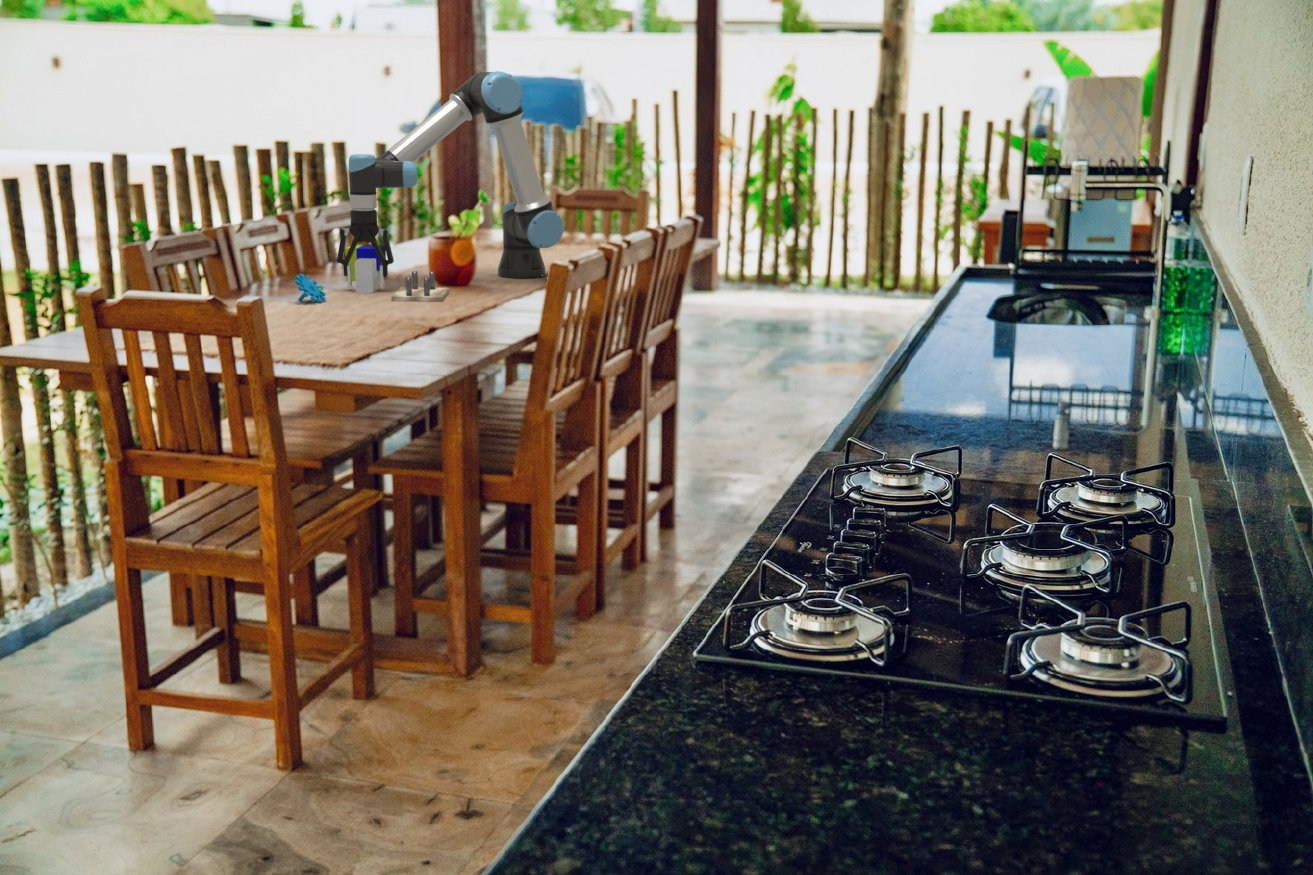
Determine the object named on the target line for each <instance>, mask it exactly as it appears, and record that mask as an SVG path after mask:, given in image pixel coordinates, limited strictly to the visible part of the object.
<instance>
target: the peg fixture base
mask: <svg viewBox="0 0 1313 875" xmlns="http://www.w3.org/2000/svg"><path fill="white" fill-rule="evenodd" d="M418 273H419V272H418V271H417V270H412V271H411V276H408V277H405V286H400V288H398V289H397V290H396V292H394V293H393V294H392V295H391V298H390V299H391V302H428V303H429V302H435V303H436V302H437V303H439V302H441V303H442V302H443V301H444V299H446V297H447V295H449V293H450V287H436V274H435V273H436V272H435V271H431V270H430V271H429V277H423V287H420V286H419V281H418V280H419V278H418V277H419V274H418Z"/></svg>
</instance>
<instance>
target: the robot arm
mask: <svg viewBox="0 0 1313 875" xmlns="http://www.w3.org/2000/svg"><path fill="white" fill-rule="evenodd" d="M523 99H524V91H523V88H522V85H521V83H520V82H519V80H518V79H517V78H516V77H515V76H514V75H512V74H510V73H507V72H504V71H497V70H496V71H481V72H478V73H476V74H474V75H473V76H471V77H469V78H468V79H467V80H466V81H465V82H464V83H462V84H461V85H460V86H459V87H458V88H456V90H454V91H453V92H452V93H451V94H450V95H449V100H447V101H446V102H445V103H444V104H443V105H441V106H440V107H438V109H437V110H436V111H434V112H433V113H432V114H430V115H429V116H428V117H426V118H425V119H424V120H423V121H422V122H421V123H419V124H418V125H417V126H416V127H414V128H413V129H412V130H410V131H409V132H408V133H407V134H406V135H405V136H404V137H402V138H401V139H400V140H398V141H397V142H396V143H395V144H394V145H392V146H391V147H390V148H389V149H388V150H386V151H385V152H384V153H383V154H382V155H380V156H379V157H376V156H375V154H370V153H365V154H363V153H362V154H361V153H360V154H359V153H357V154H351V155H350V156H349V157H348V169H347V170H348V171H347V172H348V183H349V184H348V185H349V208H350V209H351V210H350V211H349V215H350V217H349V218H350V226H349V227H348V228H343V227H342V228H340V229H339V235H340V239H339V240H340V241H339V246H338V251H337V258H336V262H337V263H338V264H341V265H342V266H343V275H344V277H347V276H348V281H347V288H348V289H352V288H353V281H352V266H351V265H349V261H350V259H351V257H352V255H353V252H354V250H355V248H356V246H357V245H359V244H358V243H364V242H365V243H370V245H373V247H374V249H375V251H376V253H377V255H378V257H379V259H380V261H381V263H382V265H381V266H380V282H379V283H380V289H382V290H383V289H385V278H384V277H386V278H387V277H388V275H389V273H388V272H389V270H388V267H389V265H392V264H393V263H394V262H395V260H394V255H393V252H392V247H391V243H390V239H389V234H390V233H389V232H390V231H389V230H390V229H388V228H386V229H384V228H380V227H379V225H378V211H377V210H376V209H377V208H378V204H377V202H378V200H377V189H382V188H383V189H387V188H388V189H389V188H391V189H393V188H394V189H395V188H396V189H397V188H398V189H401V188H403V189H406V188H413V187H415V186H416V185H417V182H418V178H419V177H418V176H419V175H418V169H417V166H416V164H415V163H416V161H417V160H419V159H420V158H421V157H423V156H424V155H425V154H426V153H427V152H429V151H430V150H431V149H432V148H434V146H436V145H437V144H438V143H440V142H441V141H442V140H443V139H444V138H446V137H447V136H448V135H449V134H451V133H452V132H453V131H454V130H456V129H457V128H458V127H460V125H462V124H464V122H466V121H472V120H473V119H475V118H476V117H477V116H479V115H480V114H483V117H484V120H485V123H486V125H488V126H490V127H491V128H492V129H493V131H494V135H495V138H496V141H497V144H498V148H499V151H500V153H501V157H502V160H503V162H504V163H503V164H504V166H505V170H506V173H507V176H508V178H509V182H510V185H511V188H512V190H513V191H512V192H513V194H514V197H515V198H514V199H515V200H516V202H507V203H505V204H504V205H503V207H502V238H503V239H502V240H503V241H502V245H503V246H502V247H503V248H502V249H503V251H502V254H501V257H500V261H499V264H498V267H497V268H498V269H497V275H498V276H500V277H503V278H511V279H512V278H513V279H532V278H531V277H536V278H540V277H539V276H542V275H543V276H542V277H545V276H546V266H545V263H544V259H543V256H542V253H541V249H548V248H551V247H553V246H555V245H557V244H558V243H559V242H560V240H561V239H562V237H563V234H564V229H565V224H564V220H563V219H562V217H561V216H560V214H559V213H558V212H556V211H555V209H554V206H553V203H552V199H551V198H549V197H548V196H546V195H545V193H544V191H543V188H542V185H541V180H540V178H539V175H538V171H537V169H536V165H535V161H534V159H533V156H532V153H531V149H530V146H529V142H528V139H527V137H526V136H527V135H526V133H525V130H524V126H523V123H522V117H523V114H524V108H523V105H522V101H523ZM349 233H350V234H351V236H352V237H353V239H352V242H351V244H350V249H349V251H348V253H347V255H346V254H345V247H346V243H347V236H349ZM378 234H380V237H382V240H383V245H384V246H385V250H386V258H385V256H384V254H383V252H382V250H381V248H380V246H379V245H380V244H379V243H378V240H377V238H376V237H377V235H378ZM344 254H345V257H344ZM544 275H545V276H544Z"/></svg>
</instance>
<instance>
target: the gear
mask: <svg viewBox="0 0 1313 875" xmlns="http://www.w3.org/2000/svg"><path fill="white" fill-rule="evenodd" d="M294 279H295V280H294V284H295V285H296V286H298V287H297V290H298V291H300V292H303V293H302V294H301V295H300V296H299V297H298V299H297V300H298V301H299V302H302V301H303V300H304V299H305V298H308V297H309V296H310V297H309V298H310V301H311V302H313V303H315V301H316V302H317V304H322V302H324V301H326V300H327V298H326V296H327V294H326V292H325V291H323V290H324V288H325V286H324V285H323V284H320V285H317V284H318V282H317V280H316V279H313V280H312V281H311V280H310V279H311V276H309V275H308V274H306V275H304V274H303V273H299V274H298V275H296V276H295V277H294Z"/></svg>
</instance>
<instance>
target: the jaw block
mask: <svg viewBox="0 0 1313 875" xmlns="http://www.w3.org/2000/svg"><path fill="white" fill-rule="evenodd" d="M354 282H355V283H354V284H355V288H354V289H355V293H356V294H357V293H359V294H360V293H362V294H363V293H364V294H366V293H367V294H368V293H369V294H374V293H375V292H376V291H377V290H378V282H377V271H376V259H366V258H359V259H357V260H356V261H355V281H354Z"/></svg>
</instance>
